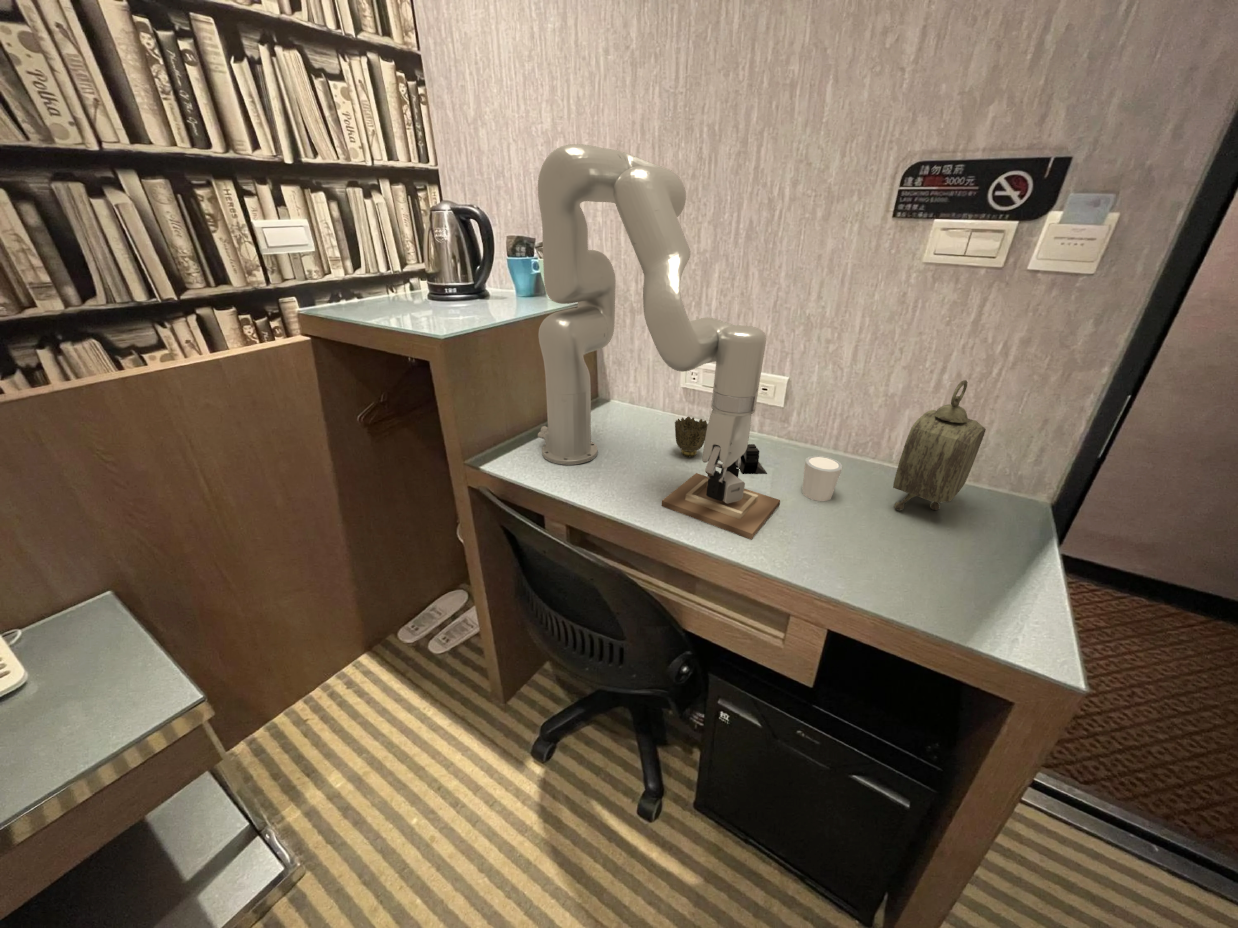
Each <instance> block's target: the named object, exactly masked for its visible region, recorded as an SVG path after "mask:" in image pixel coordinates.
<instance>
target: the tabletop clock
mask: <svg viewBox="0 0 1238 928" xmlns="http://www.w3.org/2000/svg"><path fill="white" fill-rule="evenodd" d="M961 388H962V391H961V393H960V394H959V396H958V393H959V392H960V390H961ZM967 388H968V381H967V380H966V379H963V380H961V381H960V382H959V383H958V384H957V385H956V388H955V389H954V391H953V393H952V396H951V400H950V404H943V405H942V406H940V407H939V408H938V409H930V410H928V411H927V412H925V413H923V414H922V415H921V416H920V417H919V418H917V420H916V421H915V422H914V423H913V425H912V426H911V428H910V431H909V433H908V435H907V438H906V441H905V444H904V446H903V449H902V452H901V456H900V459H899V462H898V465H897V470H896V472H895V477H894V480H893V485H892V486H893V487H892V488H893V489H894V490H895V489H896V490H898V491H901V492H903V493H906V494H907V495H906V496H905V497H904V498H903V499H902V500H901V501H897V502H895V503H894V509H895V510H896V511H902V510H904V508H905V503H907V502H908V501H910V500H911V499H912V498H915V497H918V498H921V499H923V500H927V501H929V502H931V503H930V505H929V506H930V509H931V510H932V511H938V510H939V509H940V507H941V504H940V503H945V502H946V503H949V502H951V501H952V500H953V499H955V497H956V496H957V495H958V493H959V492H960V491H961V489H963V487H964V485H965V484H966V482H967V480H968V478H969V475H970V473H971V471H972V467H973V466H974V462H975V460H976V457H977V456H978V453H979V450H980V447H981V445H982V442H983V439H984V436H985V433H986V427H984V425H982V424H981V423H980V422H978V420H975V419H971V418H968V413H967V411H966V409H965V408H964V407H962V406H961V405H960V403H961V401H962V399H964V395H965V392H966V391H967Z"/></svg>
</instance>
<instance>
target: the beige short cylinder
mask: <svg viewBox="0 0 1238 928" xmlns="http://www.w3.org/2000/svg"><path fill="white" fill-rule="evenodd" d="M842 470H843V464H842V463H841V462H840V461H839V460H836V459H834V458H832V457H829V456H824V455H811V456H807V458H805V460H804V471H803V478H802V479H803V480H802V489H801V492H802V494H803V495H804V497H806V498H808V499H809V500H813V501H816V502H817V501H818V502H826V501H830V500H831V499H832V497H833V495H834V491H835V489H836V486H837V484H838V481H839V478H840V476H841V473H842Z"/></svg>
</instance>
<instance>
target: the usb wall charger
mask: <svg viewBox="0 0 1238 928" xmlns="http://www.w3.org/2000/svg"><path fill="white" fill-rule="evenodd" d="M724 481H726V484H725V491H724V498H723V501H724V502H725V503H727V504H728V503H732V502H736V501H739V500H741V499H742V498H743V493H744V488H745V485H746V483H745V481H743V480H742V479H741V478H739V476H738V477H736V476H735V475H733V474H732V473H731V472H729V471H727V472H726V474H725V478H724Z"/></svg>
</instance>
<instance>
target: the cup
mask: <svg viewBox="0 0 1238 928" xmlns="http://www.w3.org/2000/svg"><path fill="white" fill-rule="evenodd" d="M707 426H708V421H707V420H703V419H702V418H700V419H699V420H695V417H694V416H693V417H692V418H691V416H687V417H686V418H684V417H681V419H679V418H677V419H676V420H675V421H674V432H675V433H674V435H675V442H676V446H677V447H678V448H679V449H681V450H680V454H681V455H682V456H683V457H685V458H694V457H696V455H697V453H698V451H699V450H700V449H702V447H704V442H705V437H706V431H707Z"/></svg>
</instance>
